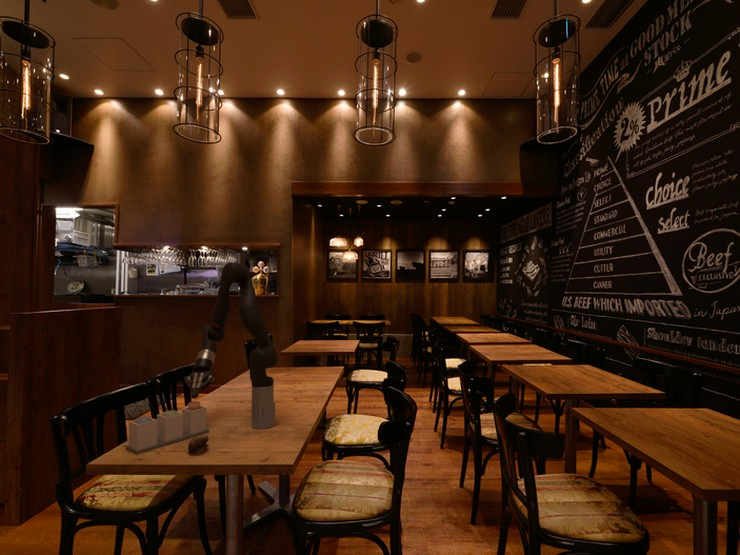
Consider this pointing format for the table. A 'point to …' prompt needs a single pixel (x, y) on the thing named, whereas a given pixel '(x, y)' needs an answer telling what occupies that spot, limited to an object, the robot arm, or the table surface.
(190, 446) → the mushroom
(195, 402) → the terracotta button
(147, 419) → the slate button
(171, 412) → the sage button
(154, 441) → the button stand
